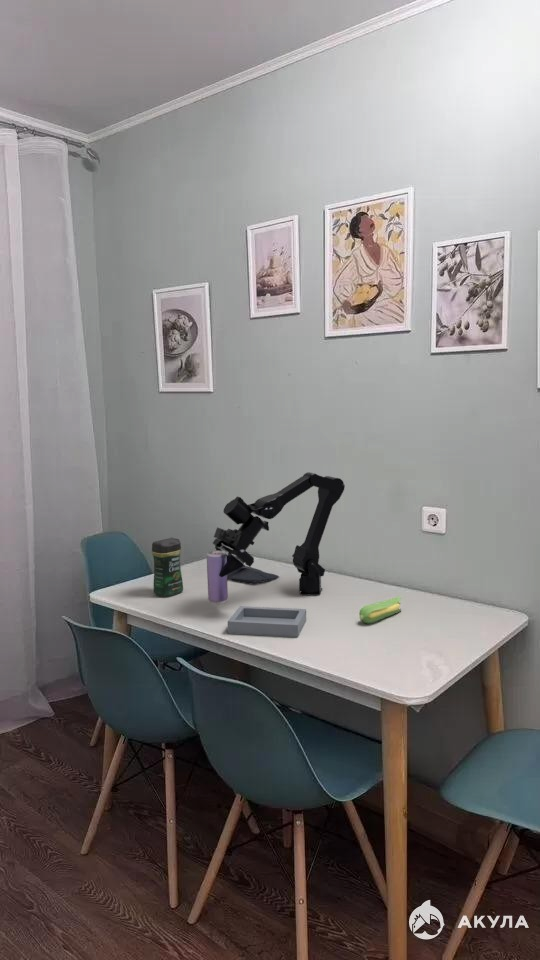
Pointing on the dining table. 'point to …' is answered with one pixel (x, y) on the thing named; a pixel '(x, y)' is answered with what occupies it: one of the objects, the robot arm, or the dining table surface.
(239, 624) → the tray
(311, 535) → the robot arm
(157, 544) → the coffee jar
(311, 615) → the dining table surface
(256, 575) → the dark slate chunk
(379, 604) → the edible corn
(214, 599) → the beverage can
